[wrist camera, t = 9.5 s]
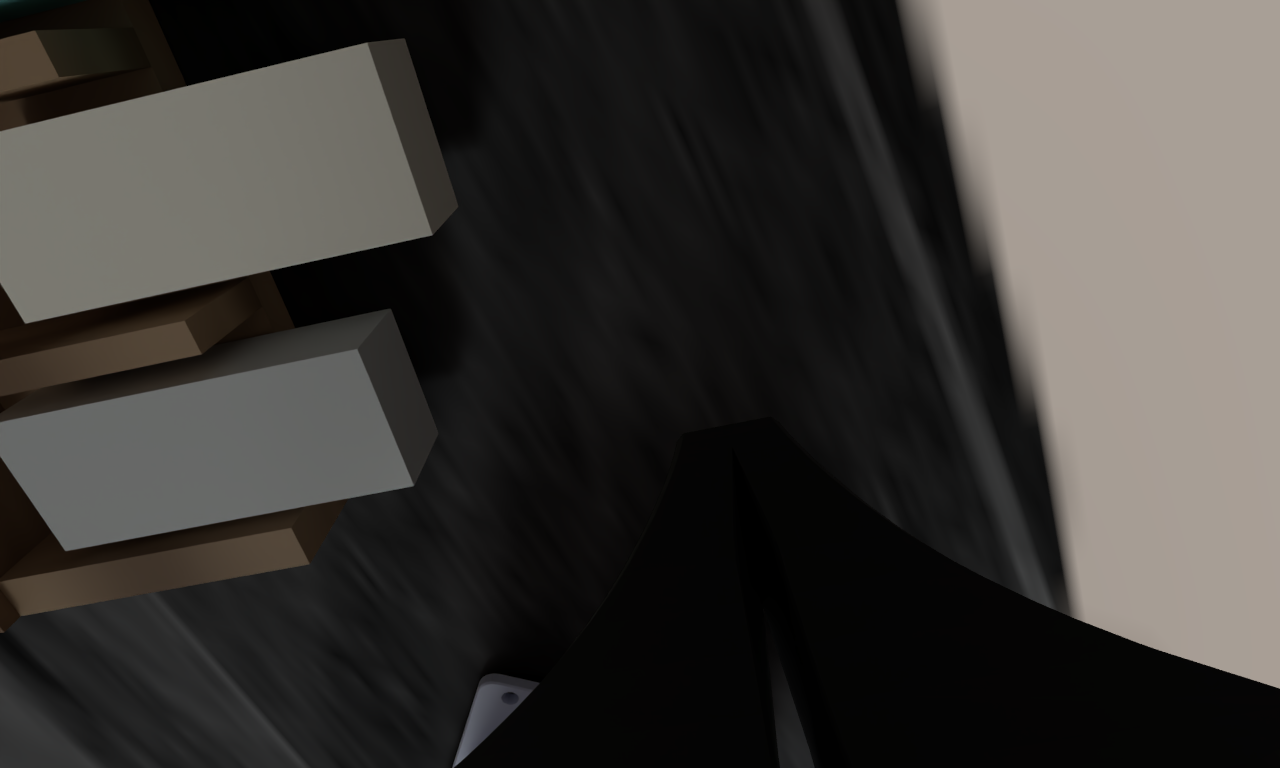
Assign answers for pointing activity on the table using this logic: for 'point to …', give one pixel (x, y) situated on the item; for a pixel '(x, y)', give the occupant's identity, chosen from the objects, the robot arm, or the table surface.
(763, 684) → the robot arm
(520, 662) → the table surface
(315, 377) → the light grey rectangular block
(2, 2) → the teal flat slab
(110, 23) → the walnut key block
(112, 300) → the off-white rectangular box
